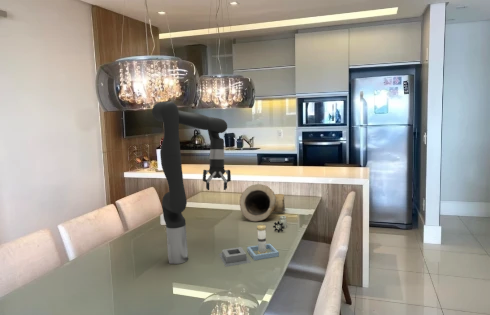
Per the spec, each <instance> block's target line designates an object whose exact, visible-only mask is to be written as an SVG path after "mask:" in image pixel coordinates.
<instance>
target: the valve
mask: <svg viewBox="0 0 490 315" xmlns="http://www.w3.org/2000/svg"><path fill="white" fill-rule="evenodd" d="M287 222H288V221H287V216H286V215H280V216H279V220H277V221H275V222H274V223H273V224H274V225H272V228H274V230H273V231H274V232H277V233H280V232H283V231H284V229H285V228H286V229H287V226H288V225H287V224H288V223H287Z"/></svg>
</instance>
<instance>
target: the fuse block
mask: <svg viewBox="0 0 490 315" xmlns="http://www.w3.org/2000/svg"><path fill="white" fill-rule="evenodd" d="M218 256H219V257H220V259H221V262H222V263H223V265H224V266H225V267H224V268H226V267H233V266H239V265H240V266H241V265H245V264H251V263H252V262H251V260H250V259H249V257H248V256H247V252H245V250H244V249H243V247H242V246H238V247H231V248H225V249H222V250H221V252H220V253H218Z"/></svg>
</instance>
